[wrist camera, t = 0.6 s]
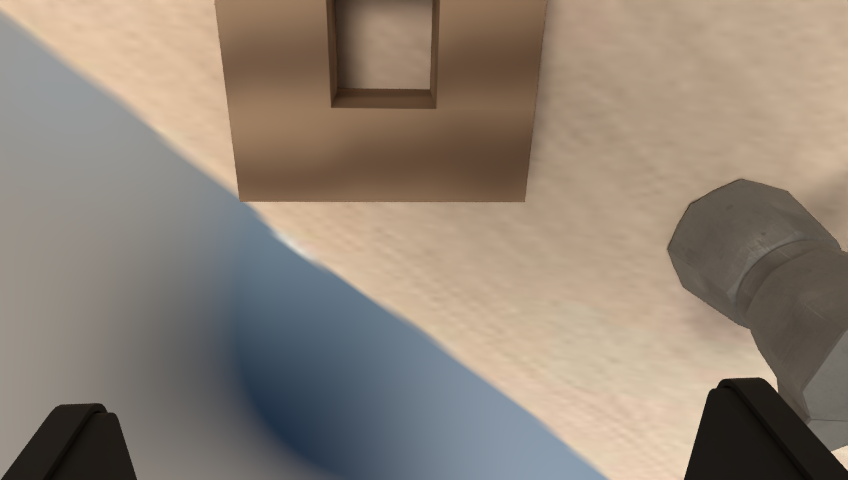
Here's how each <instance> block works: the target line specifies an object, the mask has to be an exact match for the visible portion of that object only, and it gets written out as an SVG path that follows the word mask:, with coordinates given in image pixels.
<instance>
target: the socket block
mask: <svg viewBox="0 0 848 480" xmlns="http://www.w3.org/2000/svg"><path fill="white" fill-rule="evenodd" d="M546 6H547V0H433V7H432V41H431V75H430V90H421V89H349V88H338V69H337V44H336V19H335V0H215V8H216V16H217V24H218V32H219V40H220V48H221V56H222V64H223V72H224V80H225V88H226V96H227V104H228V112H229V120H230V127H231V135H232V143H233V151H234V159H235V167H236V175H237V183H238V191H239V199H240V202H525V195H526V186H527V177H528V168H529V159H530V150H531V141H532V132H533V123H534V114H535V105H536V96H537V87H538V78H539V69H540V60H541V51H542V42H543V33H544V24H545V15H546Z"/></svg>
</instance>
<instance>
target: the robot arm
mask: <svg viewBox="0 0 848 480" xmlns="http://www.w3.org/2000/svg"><path fill="white" fill-rule="evenodd" d="M1 480H137V478H136V475H135V472H134V468H133V465H132V462H131V459H130V456H129V452H128V449H127V446H126V443H125V440H124V436H123V433H122V430H121V427H120V423H119V420H118V418H117V416H116V414H114V413H108V412H107V410H106V408H105V407H104V406H103V405H102V404H99V403H93V404H67V405H59V406H57V407H55V409H54V410H53V411H52V412H51V413H50V414H49V415H48V417H47V418H46V419H45V421H44V422H43V423H42V425H41V426H40V428H39V429H38V430H37V432H36V433H35V434H34V436H33V437H32V438H31V440H30V441H29V442H28V444H27V445H26V446H25V448H24V449H23V450H22V452H21V453H20V455H19V456H18V457H17V459H16V460H15V461H14V463H13V464H12V465H11V467H10V468H9V469H8V471H7V472H6V473H5V475H4V476H3V478H2V479H1ZM684 480H848V471H847V470H846V469H845V467H844V466H843V465H842V464H841V463H840V462H839V461H838V460H837V459H836V457H835V456H834V455H833V454H832V453H831V452H830V451H829V450H828V448H827V447H826V446H825V445H824V444H823V443H822V442H821V441H820V440H819V438H818V437H817V436H816V435H815V434H814V433H813V432H812V431H811V430H810V428H809V427H808V426H807V425H806V424H805V423H804V422H803V421H802V419H801V418H800V417H799V416H798V415H797V414H796V413H795V412H794V411H793V409H792V408H791V407H790V406H789V405H788V404H787V403H786V402H785V401H784V399H783V398H782V397H781V396H780V395H779V394H778V393H777V392H776V390H775V389H774V388H773V387H772V386H771V385H770V384H769V383H768V382H767V381H766V380H764V379H762V378H759V377H758V378H733V379H723V380H721V381H720V382H719V384H718V386H717V388H715V389H712V390H710V392H709V394H708V396H707V400H706V404H705V407H704V411H703V414H702V418H701V421H700V425H699V428H698V432H697V435H696V439H695V443H694V446H693V450H692V453H691V457H690V460H689V464H688V467H687V471H686V474H685V478H684Z"/></svg>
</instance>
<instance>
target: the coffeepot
mask: <svg viewBox="0 0 848 480" xmlns="http://www.w3.org/2000/svg"><path fill="white" fill-rule="evenodd" d="M668 252H669V254H670V257H671V259H672V263H673V266H674V268H675V270H676V272H677V274H678V276H679V279H680V281H681V283H682V286H683V287H684V288H685V289H687V290H688V291H689V292H691V293H692V294H694V295H695V296H697V297H698V298H700V299H701V300H703V301H704V302H706V303H707V304H709V305H710V306H712V307H713V308H714V309H716V310H717V311H719V312H720V313H722V314H723V315H725V316H726V317H728V318H729V319H731V320H732V321H734V322H735V323H737V324H738V325H740V326H743V327H746V328H749V329H750V330H751V333H752V336H753V338H754V341H755V343H756V345H757V347H758V350H759V351H760V353H761V354H762V356H763V357H764V359H765V360H766V362H767V363H768V365H769V366H770V368H771V370H772V371H773V373H774V374H775V376H776V377H777V385H778V394H779V395H780V396H781V397H782V398H783V399H784V401H785V402H786V403H787V404H788V405H789V406H790V407H791V408H792V409H793V411H794V412H795V413H796V414H797V415H798V416H799V417H800V418H801V419H802V421H803V422H804V423H805V424H806V425H807V426H808V427H809V428H810V430H811V431H812V432H813V433H814V434H815V435H816V436H817V437H818V438H819V440H820V441H821V442H822V443H823V444H824V445H825V446H826V447H827V448H828V450H829V451H830V452H831V451H833V450H836V449H839V448H841V447H844V446H846V445H848V252H844V251H842V250H841V248H840V246H839V244H838V242H837V240H836V239H835V238H834V237H833V236H832V235H831V234H830V233H829V232H828V231H827V230H826V229H825V228H824V227H823V226H822V225H821V224H820V223H819V222H818V221H817V220H816V219H815V218H814V217H813V216H812V215H811V214H810V213H809V212H808V211H807V210H806V209H805V208H804V207H803V206H802V205H801V204H800V203H799V202H798V201H797V200H796V199H795V198H794V197H793V196H792V195H791V194H790V193H789V192H788V191H784V190H781V189H777V188H774V187H771V186H768V185H765V184H761V183H755V182H751V181H747V180H744V179H741V180H738V181H736V182H733V183H730V184H728V185H725V186H723V187H720V188H718V189H716V190H713V191H712V192H710V193H708V194H707V195H705V196H703V197H702V198H701V199H699V200H698V201H697V202H695V203H693V204H691V205H690V207H689V208H688V210H687V211H686V212H685V214H684V215H683V217H682V219H681V220H680V222H679V223H678V225H677V227H676V230H675V232H674V235H673V238H672V242H671V244H670V246H669V248H668Z"/></svg>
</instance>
